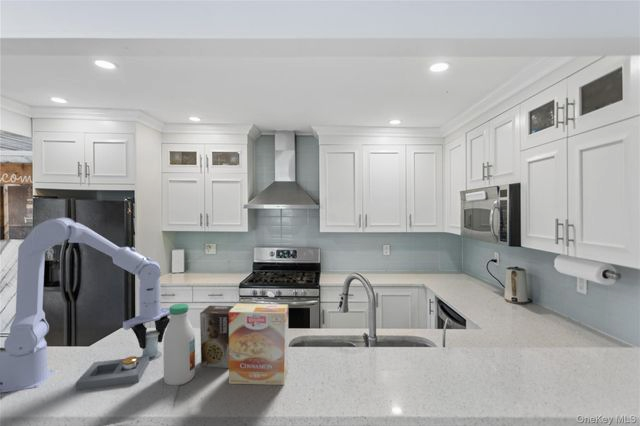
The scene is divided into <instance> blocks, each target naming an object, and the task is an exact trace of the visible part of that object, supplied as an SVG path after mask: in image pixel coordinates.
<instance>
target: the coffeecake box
mask: <svg viewBox="0 0 640 426" xmlns="http://www.w3.org/2000/svg"><path fill="white" fill-rule="evenodd" d="M233 306H234V307H233V308H232V309H231V310H230V311H229V368H228V384H229V385H267V386H268V385H269V386H275V385H276V386H285V383H286V379H287V375H288V372H289V371H288V370H289V304H285V303H284V304H277V303H236V304H234V305H233Z"/></svg>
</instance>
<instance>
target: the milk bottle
mask: <svg viewBox="0 0 640 426" xmlns="http://www.w3.org/2000/svg"><path fill="white" fill-rule="evenodd" d="M169 308H170V310H169V311H170V316H169V317H170V322H169V323H168V325H167V327H166V329H165V332H164V335H163V382H164V383H165V384H167V385H168V386H182V385H185V384H187V383H189V382H190V381H192V379H194V377H195V375H196V341H195V340H196V339H195V331H194V328H193V326H192V323H191V322H190V319H189V317H188V314H189V304H188V303H176V304H175V303H174V304H173V305H171V306H169Z"/></svg>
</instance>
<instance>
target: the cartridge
mask: <svg viewBox="0 0 640 426" xmlns="http://www.w3.org/2000/svg"><path fill="white" fill-rule="evenodd" d="M159 333H160V332H159V331H157V330H156V329H155V330H148V331H146V337H145V340H146V347H145V348H144V349H142V355H141V356H143V357H144V356H149V357H152V356H155V355H157V351H159V349H158V348H159V347H158V345H159V342H158V335H159Z"/></svg>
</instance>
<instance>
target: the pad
mask: <svg viewBox="0 0 640 426" xmlns="http://www.w3.org/2000/svg"><path fill="white" fill-rule="evenodd" d="M162 356H163V352H161V351H159V350H158V351H157V355H155V356H152V357H149V362H151V361H155V360H158V359H159V358H160V357H162ZM140 357H143V356H142V355H141V356H140Z"/></svg>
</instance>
